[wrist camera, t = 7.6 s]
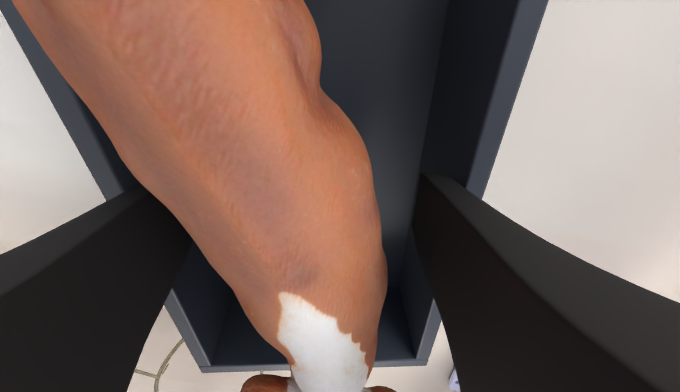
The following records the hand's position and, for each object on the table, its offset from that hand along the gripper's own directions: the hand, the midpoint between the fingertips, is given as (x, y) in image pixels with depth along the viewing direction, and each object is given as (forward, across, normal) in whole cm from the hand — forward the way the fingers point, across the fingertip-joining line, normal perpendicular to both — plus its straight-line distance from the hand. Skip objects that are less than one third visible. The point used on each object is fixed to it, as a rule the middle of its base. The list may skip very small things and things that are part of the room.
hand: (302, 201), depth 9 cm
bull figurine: (+3, 0, 0) cm, 3 cm away
